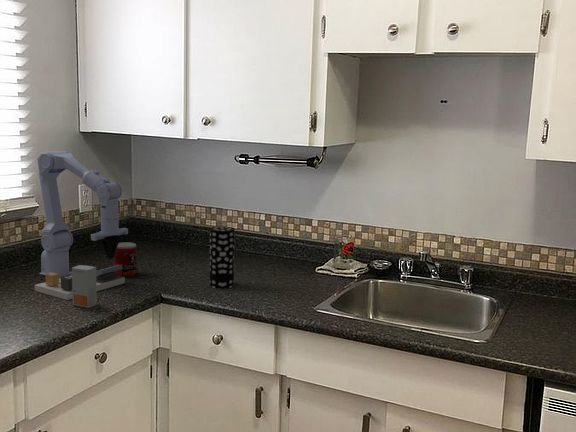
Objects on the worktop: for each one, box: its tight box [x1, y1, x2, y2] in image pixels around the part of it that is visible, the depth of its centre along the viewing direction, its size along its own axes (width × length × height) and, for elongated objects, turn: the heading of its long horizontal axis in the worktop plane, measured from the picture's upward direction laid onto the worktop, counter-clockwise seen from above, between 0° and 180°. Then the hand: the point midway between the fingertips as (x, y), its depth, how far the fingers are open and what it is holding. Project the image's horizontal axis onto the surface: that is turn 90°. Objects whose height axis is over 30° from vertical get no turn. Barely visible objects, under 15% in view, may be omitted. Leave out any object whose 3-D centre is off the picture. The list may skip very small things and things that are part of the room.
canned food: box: [114, 241, 138, 278], centre depth 223 cm, size 8×8×11 cm
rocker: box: [96, 265, 123, 276], centre depth 211 cm, size 7×9×2 cm
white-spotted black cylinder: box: [209, 225, 235, 290], centre depth 212 cm, size 8×8×20 cm
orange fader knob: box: [44, 272, 59, 286], centre depth 201 cm, size 4×2×4 cm
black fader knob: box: [60, 275, 72, 290], centre depth 197 cm, size 4×2×4 cm
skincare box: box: [71, 264, 98, 309], centre depth 188 cm, size 6×4×12 cm
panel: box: [34, 271, 126, 301], centre depth 207 cm, size 16×24×4 cm, turn 148°
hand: (110, 258), depth 209 cm, fingers closed
